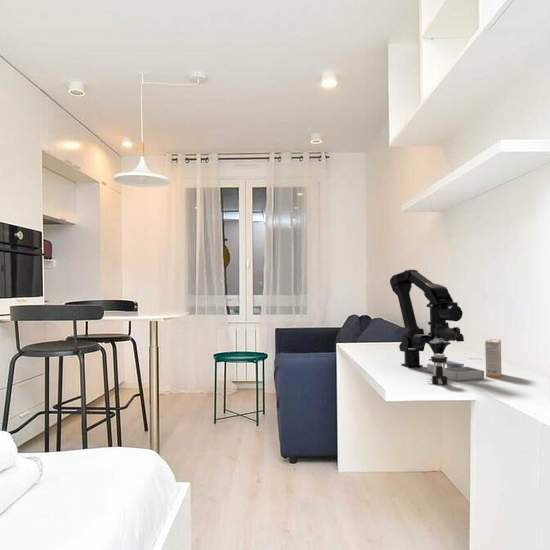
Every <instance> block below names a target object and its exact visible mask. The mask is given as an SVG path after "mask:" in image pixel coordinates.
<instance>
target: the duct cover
mask: <svg viewBox="0 0 550 550" xmlns="http://www.w3.org/2000/svg"><path fill="white" fill-rule="evenodd" d="M428 361H430V362H432V358H428ZM447 365H458V366H464V367H465V364H463V363H462V362H461V363H459V362H456V361H452V360H448V359H447V362H446V363H445V366H447Z"/></svg>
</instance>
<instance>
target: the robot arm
mask: <svg viewBox="0 0 550 550" xmlns="http://www.w3.org/2000/svg"><path fill="white" fill-rule="evenodd" d="M389 284H390V287H391V290H392V291H393V293H394V294H395V295H396V296H397V299H398V304H399V308H400V312H401V316H402V320H403V325H404V331H403V333H402V341H401V342H400V343H399V346H398V347H399V351H400V352H403V353H404V354H403V355H404V363H401V366H403V367H407V368H421V367H424V366H423V364H421V363H420V362H421V360H420V359H421V357H420V352H424V351H425V346H426V344H427V345H429V347H430V349H431V351H432V352H433V355H434V354H444V352H445V350H446V348H447V347H448V346H449V345H451V341H452V342H455V341H456V342H458V343H459V342H465V337H464V335H463V334H462V333H461V328H460V327H459V326H457V327H455V326H453V327H450V326H449V325H450V324H449V322H458V321H460V320H461V319H462V318H463V311H462V308H461V307H460V306H459V305H458V304H459V303H458V302H454V299H453V298H452V296H451V294H450V292H449V290H448V288H447V287H446V286H445V285H442V284H438V283H434V282H433V281H431V280H429V279H428V278H427V277H425V276H424V275H423V274H422V273H420V272H419V270H417V269H406V270H404V271H403V272H400V273H396V274H393V275H392V276H391V278H390V279H389ZM412 284H413V285H415V286H416V287H418V289H419V290H421V291H422V292H423V293H424V294H423V295H424V297H425V298H426V299H427V301H428V303H427V304H426V308H429V321H428V322H427V325H429V329H430V331H429V332H428V334H425V330H424V329H423V328H420V327H419V325H418V323H417V320H416V316H415V311H414V307H413V303H412V299H411V295H410V293H411V290H412V287H413V286H412ZM448 321H449V322H448Z"/></svg>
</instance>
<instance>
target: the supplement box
mask: <svg viewBox="0 0 550 550" xmlns="http://www.w3.org/2000/svg"><path fill="white" fill-rule="evenodd" d="M484 343H485V344H484V345H485V347H484V348H485V350H484V351H485V352H484V353H485V355H484V356H485V376H486V377H487V378H496V379H499V378H501V376H502V340H501V339H500V338H499V339H497V338H487V339H486V340H485V341H484Z"/></svg>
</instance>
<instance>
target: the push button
mask: <svg viewBox="0 0 550 550" xmlns="http://www.w3.org/2000/svg"><path fill="white" fill-rule="evenodd" d="M430 359H432V361H431V362H432V363H433V365H434V373H432V375H431V378H430V380H431V381H429V380H428V381H426V382H427V383H432V384H433V385H448V379H447V377H446V376H443V375H446V374H445V368H446V364H445V363H446V362H447V360H448V357H447V356H446V355H445V353H443V354H434V353H433V355H432V356H430ZM442 367H443V370H442Z"/></svg>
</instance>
